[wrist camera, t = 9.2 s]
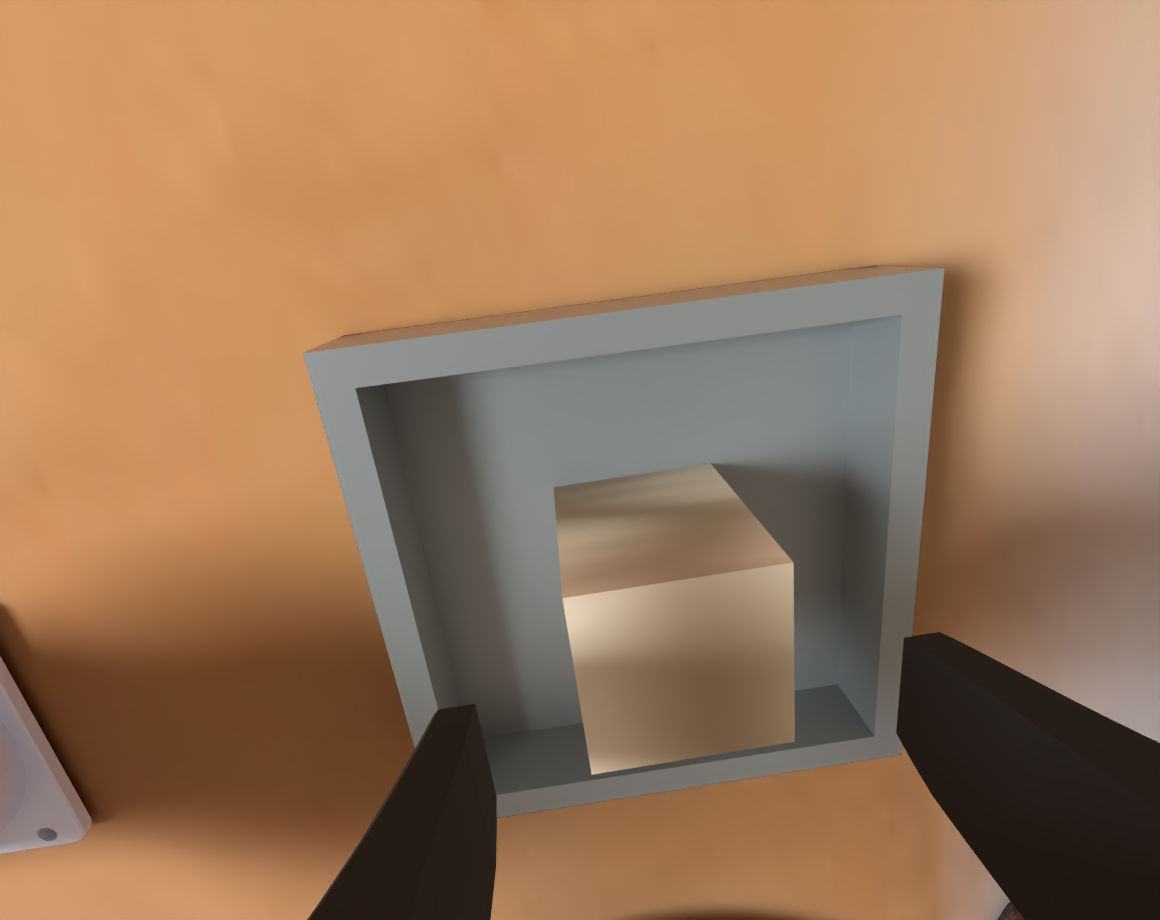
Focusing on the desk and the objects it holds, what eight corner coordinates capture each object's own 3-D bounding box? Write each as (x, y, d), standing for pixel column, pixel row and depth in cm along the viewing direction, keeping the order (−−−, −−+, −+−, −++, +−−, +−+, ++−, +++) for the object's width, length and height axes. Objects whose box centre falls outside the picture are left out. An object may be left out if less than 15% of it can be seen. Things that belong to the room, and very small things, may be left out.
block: (574, 620, 16) (591, 774, 11) (553, 487, 15) (562, 598, 10) (718, 598, 16) (794, 741, 11) (710, 463, 15) (793, 562, 10)
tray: (449, 751, 18) (437, 827, 15) (343, 335, 14) (302, 352, 11) (854, 689, 18) (901, 754, 16) (875, 265, 14) (944, 267, 12)
